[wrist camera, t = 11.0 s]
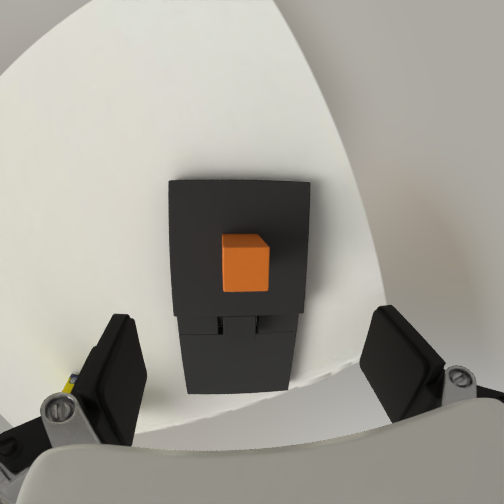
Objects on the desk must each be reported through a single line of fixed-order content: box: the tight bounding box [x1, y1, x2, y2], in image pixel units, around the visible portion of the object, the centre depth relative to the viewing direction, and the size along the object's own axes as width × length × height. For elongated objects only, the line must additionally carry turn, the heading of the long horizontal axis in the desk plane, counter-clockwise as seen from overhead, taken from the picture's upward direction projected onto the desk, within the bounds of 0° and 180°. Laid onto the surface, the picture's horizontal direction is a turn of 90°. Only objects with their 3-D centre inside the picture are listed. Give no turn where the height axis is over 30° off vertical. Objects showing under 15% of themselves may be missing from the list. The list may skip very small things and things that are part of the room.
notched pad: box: [177, 314, 299, 394], centre depth 30 cm, size 12×12×2 cm
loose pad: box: [168, 180, 310, 342], centre depth 23 cm, size 15×12×8 cm
